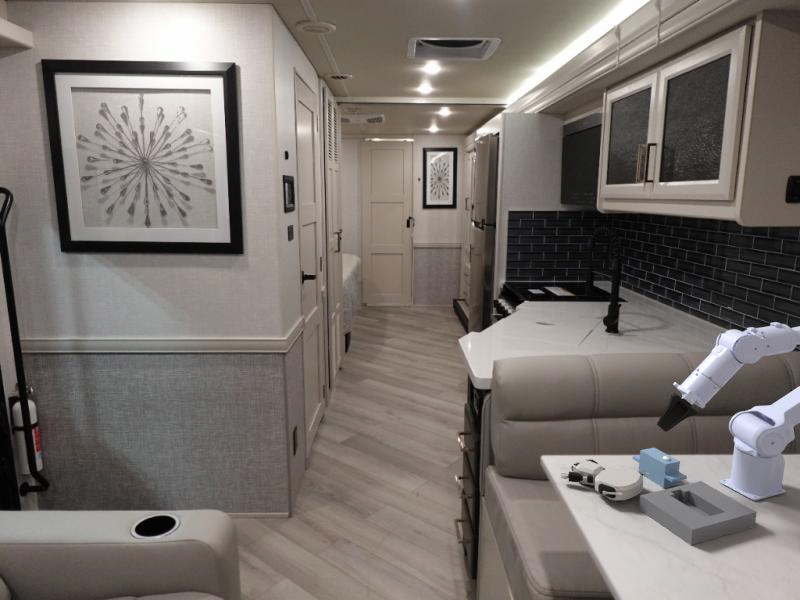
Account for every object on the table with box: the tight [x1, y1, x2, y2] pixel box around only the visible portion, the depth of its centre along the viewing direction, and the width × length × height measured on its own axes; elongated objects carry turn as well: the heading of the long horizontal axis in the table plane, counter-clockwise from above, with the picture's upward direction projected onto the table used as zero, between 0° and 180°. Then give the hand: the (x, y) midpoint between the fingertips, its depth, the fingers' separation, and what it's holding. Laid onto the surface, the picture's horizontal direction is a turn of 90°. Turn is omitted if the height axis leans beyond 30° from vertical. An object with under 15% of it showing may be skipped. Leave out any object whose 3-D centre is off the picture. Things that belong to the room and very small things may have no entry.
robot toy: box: [560, 458, 649, 502], centre depth 114 cm, size 12×4×15 cm
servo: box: [632, 447, 688, 489], centre depth 117 cm, size 4×11×6 cm, turn 21°
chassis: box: [638, 480, 758, 546], centre depth 103 cm, size 16×12×3 cm
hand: (660, 428), depth 111 cm, fingers open, 7 cm apart
